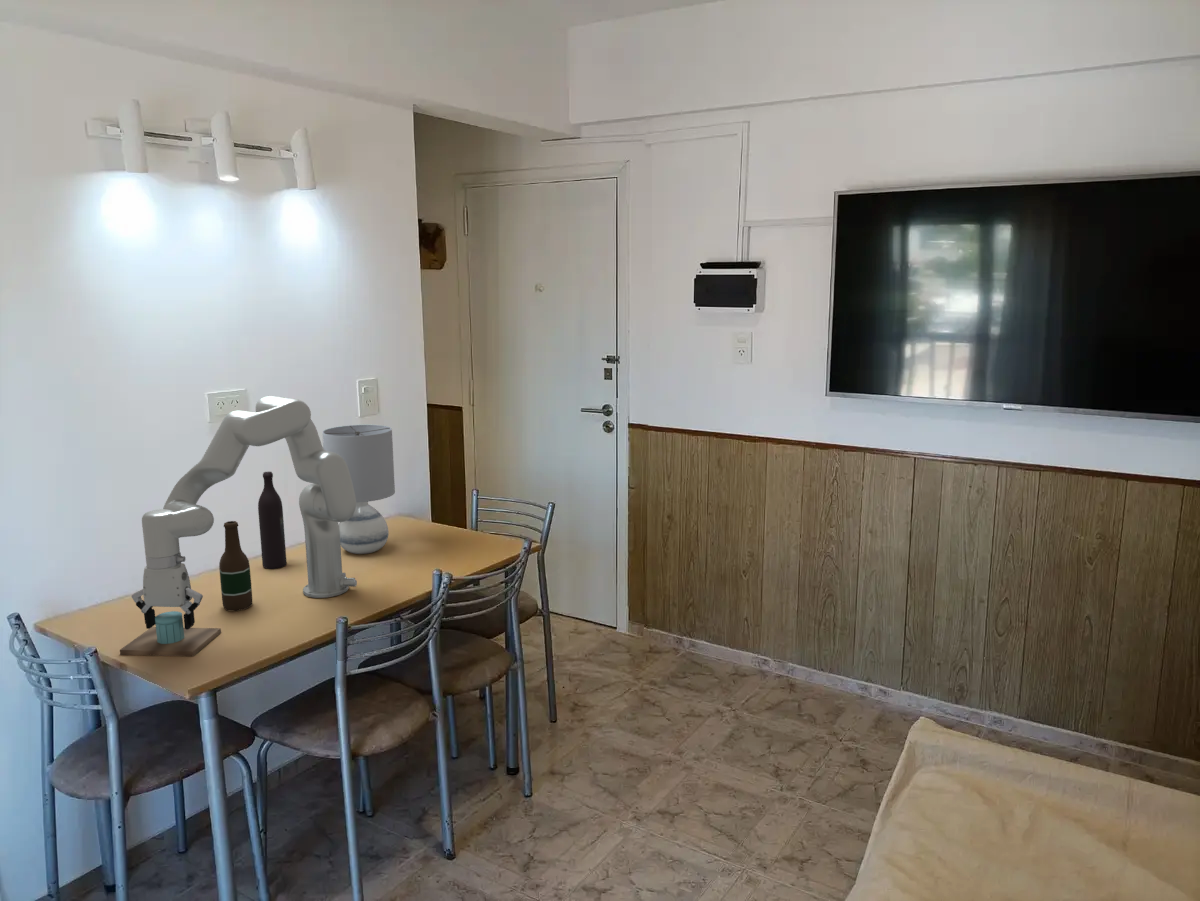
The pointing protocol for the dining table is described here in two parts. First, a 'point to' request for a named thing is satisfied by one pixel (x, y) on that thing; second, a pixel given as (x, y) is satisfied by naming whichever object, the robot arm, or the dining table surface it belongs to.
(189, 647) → the post board
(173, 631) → the cap
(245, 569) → the beer bottle
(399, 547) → the dining table surface
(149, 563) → the robot arm
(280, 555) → the wine bottle
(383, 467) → the lamp
